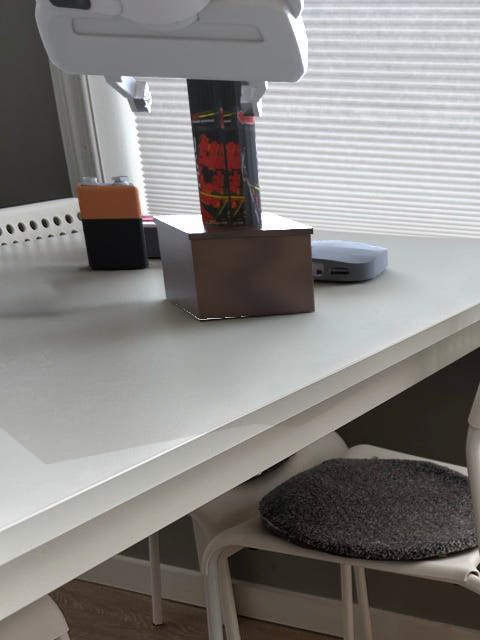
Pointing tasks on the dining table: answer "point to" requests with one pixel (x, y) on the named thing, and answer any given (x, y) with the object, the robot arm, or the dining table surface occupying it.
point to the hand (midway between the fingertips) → (198, 108)
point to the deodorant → (224, 153)
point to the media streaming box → (347, 260)
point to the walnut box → (237, 266)
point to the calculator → (153, 234)
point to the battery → (112, 224)
